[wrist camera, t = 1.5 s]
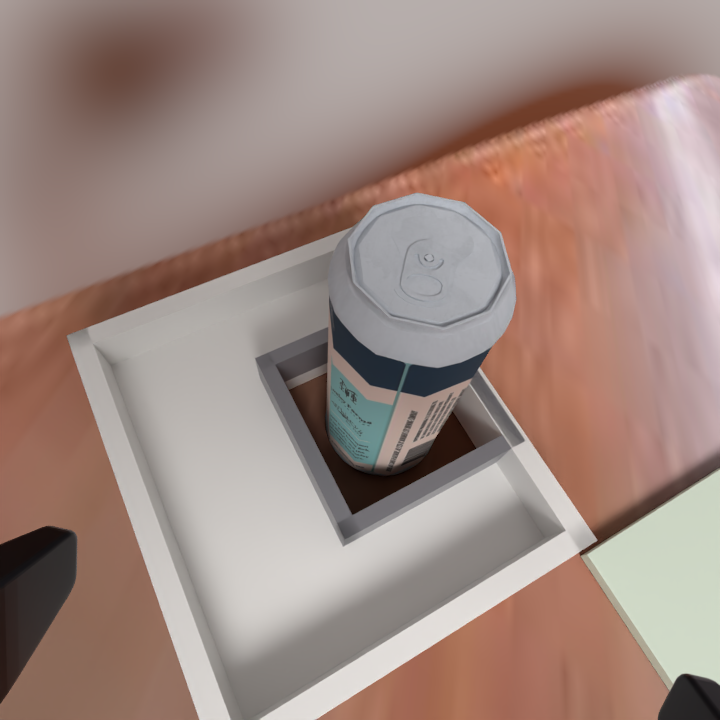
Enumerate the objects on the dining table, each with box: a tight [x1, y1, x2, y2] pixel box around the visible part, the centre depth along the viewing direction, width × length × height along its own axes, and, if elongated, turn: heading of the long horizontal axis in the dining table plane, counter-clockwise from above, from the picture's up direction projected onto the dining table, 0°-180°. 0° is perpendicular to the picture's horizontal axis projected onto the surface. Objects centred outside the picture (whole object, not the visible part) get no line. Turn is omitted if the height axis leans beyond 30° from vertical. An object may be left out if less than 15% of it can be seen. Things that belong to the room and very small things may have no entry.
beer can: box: [325, 193, 516, 476], centre depth 18 cm, size 5×5×12 cm
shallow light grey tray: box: [66, 227, 598, 720], centre depth 21 cm, size 16×14×3 cm
